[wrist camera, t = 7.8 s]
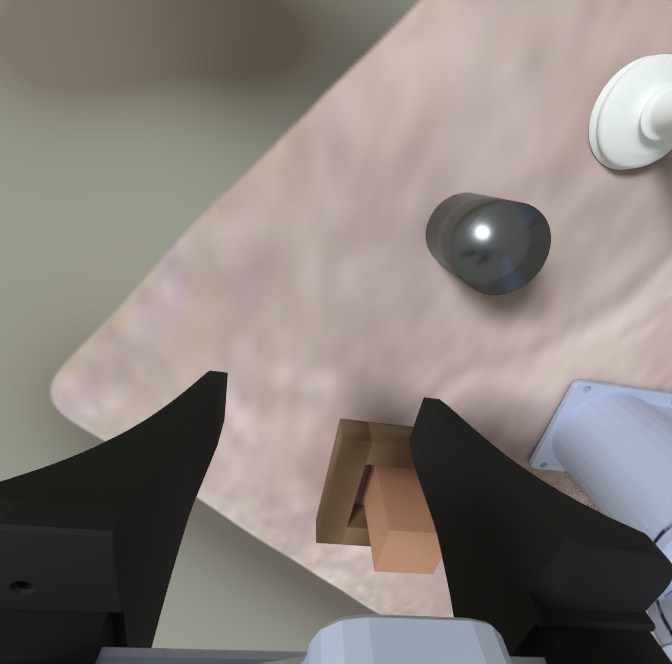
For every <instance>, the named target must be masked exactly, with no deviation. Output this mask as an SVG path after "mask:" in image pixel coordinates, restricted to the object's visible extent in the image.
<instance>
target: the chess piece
mask: <svg viewBox="0 0 672 664" xmlns="http://www.w3.org/2000/svg"><path fill="white" fill-rule="evenodd" d="M589 142H590V146H591V149H592V152H593V154H594V155H595V157H596V158H597V159H598V161H599V162H601V163H602V164H603V165H605V166H607V167H609V168H612V169H616V170H627V169H632V168H639V167H643V166H646V165H649V164H651V163H653V162H655V161H657V160H658V159H660V158H661V157H663V156H664V155H666V154H667V153H668V152H669V151H670V150H671V149H672V54H661V55H652V56H646V57H643V58H640V59H638V60H635V61H633V62H631V63H630V64H628V65H627V66H625V67H624V68H622V69H621V70H620V71H619V72H618V73H617V74H615V75H614V76H613V77H612V79H611V80H610V81H609V82H608V83H607V85H606V86H605V87H604V89H603V90H602V92H601V93H600V95H599V97H598V99H597V101H596V103H595V105H594V108H593V110H592V114H591V117H590V122H589Z"/></svg>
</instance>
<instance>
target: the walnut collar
mask: <svg viewBox="0 0 672 664" xmlns="http://www.w3.org/2000/svg"><path fill="white" fill-rule="evenodd" d="M412 430H413V427H407V426H398V425H389V424H380V423H372V422H363V421H354V420H345V419H340V423H339V427H338V431H337V435H336V439H335V443H334V447H333V452H332V456H331V460H330V464H329V468H328V472H327V476H326V481H325V485H324V489H323V493H322V497H321V501H320V505H319V509H318V514H317V518H316V543H327V544H342V545H358V546H371V544H370V538H369V531H368V525H367V518H366V512H365V506H358V505H354V502H355V498H356V495H357V492H358V488H359V485H360V482H361V478H362V475H363V472H364V468H365V465H376V466H386V467H396V468H407V469H415V467H414V463H413V458H412V453H411V448H410V442H409V438H410V436H411V433H412Z"/></svg>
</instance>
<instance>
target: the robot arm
mask: <svg viewBox="0 0 672 664" xmlns="http://www.w3.org/2000/svg"><path fill="white" fill-rule="evenodd" d="M227 376H228V373H225V372H217V371H209V372H207V373H206V374H205V375H203V376H202V377H201V378H200V379H199V380H198V381H197V382H195V383H194V384H193V385H192V386H191V387H189V388H188V389H187V390H186V391H185V392H183V393H182V394H181V395H180V396H178V397H177V398H176V399H174V400H173V401H172V402H171V403H169V404H168V405H166V406H165V407H164V408H162V409H161V410H159V411H158V412H156V413H155V414H154V415H152V416H151V417H149V418H148V419H146V420H145V421H143V422H141V423H140V424H138V425H136V426H135V427H133V428H131V429H129V430H128V431H126V432H124V433H122V434H120V435H118V436H116V437H114V438H112V439H110V440H108V441H106V442H104V443H102V444H100V445H98V446H96V447H94V448H91V449H89V450H87V451H85V452H82V453H80V454H78V455H75V456H73V457H70V458H68V459H65V460H62V461H60V462H57V463H55V464H52V465H49V466H47V467H44V468H41V469H38V470H35V471H32V472H29V473H26V474H23V475H20V476H16V477H13V478H10V479H7V480H4V481H1V482H0V664H672V392H665V391H658V390H651V389H644V388H637V387H629V386H622V385H615V384H608V383H601V382H594V381H587V380H576V381H574V382H573V383H572V384H571V386H570V387H569V389H568V391H567V393H566V395H565V397H564V398H563V400H562V402H561V404H560V406H559V407H558V409H557V411H556V413H555V415H554V417H553V418H552V420H551V422H550V424H549V426H548V427H547V429H546V431H545V433H544V435H543V437H542V438H541V440H540V442H539V444H538V446H537V448H536V449H535V451H534V453H533V455H532V457H531V458H530V460H529V464H530V466H531V467H532V468H534V469H543V470H553V471H563V472H568V474H569V475H570V476H571V477H572V478H573V480H574V481H575V482H576V483H577V484H578V486H579V487H580V488H581V489H582V491H583V492H584V493H585V494H586V495H587V497H588V498H589V499H590V500H591V501H592V503H593V504H594V505H595V506H596V508H597V509H598V510H599V511H600V512H601V513H600V512H598V511H596V510H594V509H592V508H590V507H588V506H586V505H584V504H582V503H580V502H578V501H577V500H575V499H573V498H571V497H569V496H567V495H566V494H564V493H562V492H561V491H559V490H557V489H556V488H554V487H552V486H551V485H549V484H547V483H546V482H544V481H542V480H541V479H539V478H538V477H536V476H534V475H533V474H531V473H530V472H529V471H527V470H526V469H524V468H523V467H521V466H520V465H518V464H517V463H516V462H514V461H513V460H512V459H510V458H509V457H507V456H506V455H505V454H504V453H502V452H501V451H500V450H499V449H497V448H496V447H495V446H494V445H492V444H491V443H490V442H489V441H487V440H486V439H485V438H484V437H483V436H481V435H480V434H479V433H478V432H477V431H476V430H475V429H473V428H472V427H471V426H470V425H469V424H468V423H467V422H465V421H464V420H463V419H462V418H461V417H460V416H459V415H458V414H457V413H455V412H454V411H453V410H452V409H451V408H450V407H448V406H447V405H446V404H445V403H444V402H442V401H441V400H440V399H433V398H425V397H424V399H423V402H422V404H421V407H420V410H419V413H418V416H417V419H416V421H415V424H414V427H413V430H412V433H411V436H410V438H409V442H410V448H411V453H412V458H413V463H414V467H415V470H416V473H417V476H418V479H419V482H420V485H421V488H422V491H423V493H424V496H425V499H426V502H427V505H428V508H429V511H430V514H431V517H432V520H433V523H434V526H435V530H436V533H437V537H438V541H439V545H440V550H441V554H442V558H443V563H444V568H445V572H446V577H447V582H448V587H449V592H450V597H451V603H452V609H453V614H454V617H428V616H402V615H375V614H363V615H354V616H346V617H342V618H339V619H337V620H335V621H333V622H330V623H328V624H326V625H324V626H323V627H322V629H321V630H320V631H319V632H318V633H317V635H316V636H315V637H314V638H313V640H312V641H311V642H310V645H309V648H308V652H294V651H293V652H292V651H251V650H210V649H208V650H207V649H205V650H204V649H166V648H151V647H152V643H153V640H154V636H155V632H156V629H157V625H158V621H159V617H160V614H161V610H162V606H163V603H164V599H165V596H166V592H167V588H168V585H169V581H170V578H171V575H172V571H173V568H174V564H175V561H176V557H177V554H178V551H179V547H180V544H181V540H182V537H183V534H184V531H185V527H186V524H187V521H188V517H189V514H190V512H191V509H192V506H193V503H194V501H195V498H196V496H197V494H198V491H199V489H200V486H201V484H202V482H203V479H204V477H205V474H206V472H207V469H208V467H209V465H210V462H211V460H212V457H213V455H214V452H215V450H216V447H217V445H218V441H219V438H220V434H221V430H222V427H223V423H224V417H225V404H226V390H227ZM585 387H586V388H585ZM584 388H585V389H584ZM646 610H647V612H648V614H647V613H646V612H645V611H646ZM650 631H654V633H655V635H656V638H657V640H658V642H659V643H660V645H661V646H660V645H659V644H658V642H657V641H656V640H655V638H654V637H653V635H652V634H651V633H650Z"/></svg>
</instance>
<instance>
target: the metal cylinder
mask: <svg viewBox="0 0 672 664" xmlns="http://www.w3.org/2000/svg"><path fill="white" fill-rule="evenodd" d="M426 243H427V246H428V249H429V251H430V253H431V254H432V256H433V257H434V258H435V259H436V260H438V261H439V262H440V263H442V264H443V265H444V266H445V267H447V268H448V269H449V270H450V271H452V272H453V273H454V274H456V275H457V276H458V277H459V278H461V279H462V280H463V281H465V282H466V283H467V284H468V285H470V286H471V287H472V288H474V289H475V290H477V291H479V292H481V293H485V294H490V295H501V294H506V293H510V292H512V291H515V290H517V289H519V288H521V287H522V286H524V285H525V284H527V283H528V282H529V281H530V280H532V279H533V278H534V277H535V276H536V274H537V273H538V272H539V271H540V269H541V268H542V266H543V265H544V263H545V261H546V259H547V256H548V253H549V249H550V244H551V233H550V228H549V225H548V222H547V220H546V218H545V217H544V216H543V214H542V213H541V212H540V211H539V210H537V209H536V208H535V207H533V206H531V205H529V204H525V203H521V202H516V201H511V200H505V199H500V198H495V197H490V196H485V195H479V194H474V193H460V194H456V195H453V196H451V197H449V198H447V199H446V200H444V201H443V202H442V203H441V204H440V205H439V206H437V208H436V209H435V210H434V212H433V213H432V215H431V217H430V219H429V221H428V224H427V228H426Z"/></svg>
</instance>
